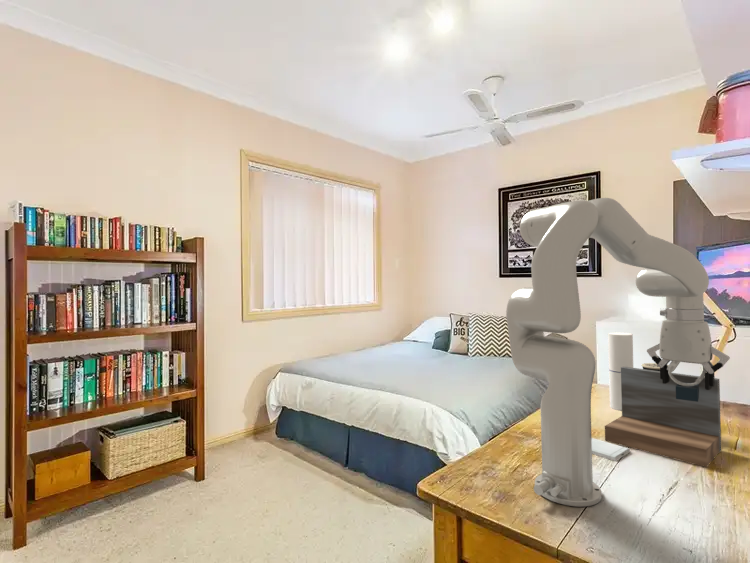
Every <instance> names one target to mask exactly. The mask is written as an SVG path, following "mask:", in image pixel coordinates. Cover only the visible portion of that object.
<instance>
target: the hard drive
mask: <svg viewBox="0 0 750 563" xmlns="http://www.w3.org/2000/svg"><path fill="white" fill-rule="evenodd" d="M630 452H631V449H630V447H629V448H628V447H626V446H623V445H619V444H616V443H612V442H608V441H605V440H601V439H597V438H593V437H592V455H594V456H597V457H601V458H604V459H607V460H610V461H611V460H612V461H615V462H617V461H618V460H620V459H621V458H623V457H624V456H626V455H628V454H629V453H630Z"/></svg>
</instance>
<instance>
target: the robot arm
mask: <svg viewBox="0 0 750 563" xmlns="http://www.w3.org/2000/svg"><path fill="white" fill-rule="evenodd" d="M519 233H520V236H521V238H522V240H523V241H524V242H525V243H526V244H528V245H530V246H531V247H534V248H535V247H536V249H535V251H534V253H533V255H532V260H531V267H530V271H531V283H532V284H531V286H529V287H528V286H527V287H523V288H518V289H517V290H516V291H514V292H513V293H512V294H511V296H510V297H509V299H508V302H507V304H506V311H505V312H506V316H505V317H506V323H507V324H506V326H507V332H508V333H507V334H508V340H509V345H510V346H509V348H510V354H511V360H512V362H513V365H514V367H515V369H516V370H517V371H518V372H519V373H520V374H522V375H524V376H526V377H528V378H529V377H530V378H534V379H537V380H541V381H544V382H548V386H547V388H546V390H545V391H544V393H543V394H542V397H541V401H540V430H541V431H540V435H541V438H540V439H541V469H542V470H541V474H540V475H538V476H536V478H535V479H534V486H533V491H534V493H535V494H536V495H538V496H542V497H544V498H545V499H548V500H549V501H551V502H554V503H557V504H560V505H564V506H569V507H591V506H594V505H596V504H598V503H600V502H601V500H602V497H603V496H602V489H601V488H600V486H599V485H598V484H596V483H595V482H594V481H593V479H594V477H593V454H592V438H593V436H592V413H591V412H592V410H591V409H592V403H591V402H592V389H593V383H594V377H595V373H596V357H595V355H594V353H593V351H592V350H591V349H590V348H589V347H588V346H587V345H585V344H584V343H582V342H579V341H576V340H574V339H570V338H569V339H568V338H563V337H555V336H545V334H544V333H550V334H552V333H553V334H569V333H572V332H574V331H575V330H577V328H579V326H580V323H581V320H582V318H581V316H582V314H581V312H582V311H581V302H580V293H579V286H578V277H577V276H578V275H577V260H578V257H579V254H580V252H581V249H582V248H583V246H584V245H585V243H586V242H587V241H588V240H589V239H590V238H591V239H594V240H595V241H596V242H597V243H598V244H600V246H602V247H603V249H605V250H606V252H608V254H609V255H611V257H612V258H613V259H614V260H616V262H619V263H622V264H623V265H624V264H625V265H629V266H632V267H638V268H643V269H641V270H640V271H639V272H638V273H637V275H636V277H635V285H636V286H635V287H636V288H637V290H638V291H639V292H640V293H642V294H644V295H646V296H648V297H659V298H660V297H662V298H663V297H665V301H666V302H665V304H666V305H665V309H661V310H659V315H660V316H662V317H664V318H665V319H666V320H662V323H661V327H660V335H659V343H658V344H655V345H654V346H652V347H649V348H647V349H646V352H647V354H648V355H649V357H650V358H651V360H652V361H653V363H656V364H657V365H658V367H660V379H662V382H663V384H666V383H668V382H669V381H670V377H669V374H668V371H669V370H667V367H668V366H667V365H669V364H670V363H671V362H672V361H677V362H680V363H687V364H698V365H699V364H700V365H701V366H702V368H703V367H704V368H705V369H706V373H705V389H706V390H710V389H711V388H712V386H713V387H714V385H715V378H716V377H715V373H716V372H717V371H719V370H720V369H721V368H723V367H724V366H725V365H726V364H727V363H728V361H730V359H731V358H730V356H729V355H727V354H726V353H724V352H722V351H721V350H719V349H717V348H716V347H714V346H713V344H712V337H711V331H710V327H709V324H708V321H705V310H704V306H705V305H704V304H705V303H704V294H705V293H706V291H707V290H708V288H709V284H710V279H709V275H708V272H707V270H706V268H705V267H704V265H703V264H702V263H701V262H700V260H698V258H697V257H696V256H695V255H694V254H693V253H692V252H690V251H689V250H688V249H686V248H684V247H682V246H680V245H677V244H675V243H673V242H671V241H668V240H665V239H662V238H660V237H657V236H654V235H651V234H649V233H648V232H647V231H646V230H645V229H644V228H643V227H642V226H641V224H640V223H639V222H638V221H637V220H636V219H635V218H634V217H633V216H632V215H631V214H630V213H629V211H627V210H626V208H625V207H624V206H623V205H622V204H621V203H620V202H618V201H617V200H615V199H614V198H610V197H600V198H594V199H591V200H590V199H589V200H572V201H571V200H570V201H567V202H562V203H557V204H552V205H549V206H545V207H540V208H536V209H532V210H530V211H528V212H526V214H524V216H523V217H522V219H521V220H520V224H519ZM657 351H659V355H658V354H657V353H656V352H657ZM713 355H714V356H715V357H717V358H718V359H719V360H718V361H717V362H716V363H715V364H713V363H712V362H711V361H712V360H713Z"/></svg>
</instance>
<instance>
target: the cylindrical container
mask: <svg viewBox="0 0 750 563" xmlns="http://www.w3.org/2000/svg"><path fill="white" fill-rule="evenodd" d="M633 340H634V339H633V333H630V332H616V331H615V332H608V333H607V345H608V346H607V348H608V349H607V350H608V381H609V383H608V384H609V386H608V387H609V388H608V389H609V408H611V409H613V410H616V411H621V412H622V393H621V367H631V368H634V341H633Z"/></svg>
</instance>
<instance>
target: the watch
mask: <svg viewBox="0 0 750 563" xmlns="http://www.w3.org/2000/svg"><path fill="white" fill-rule="evenodd" d="M680 363H681V362H677V361H670V362H669V363H668V365H669V366H668V367H667V370H669V371H668V374H669V376H670V378H671V379H672V380H673V381H674V382H676V383H677V384H676V399H680V400H688V401H696V402H698V400H699V383H700V382H701V381H702V380H703V378H704V377H705V373H706V369H705V368H704V367H703V366H702V371H701V374H700V375H699V376H700V377H699V378H698V379H696V382H695V383H683V382H680V381H678V380H677V379H676V378H674V376H673V375H672V373H674V372H675V370H676V368H678V366H679V365H680Z"/></svg>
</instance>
